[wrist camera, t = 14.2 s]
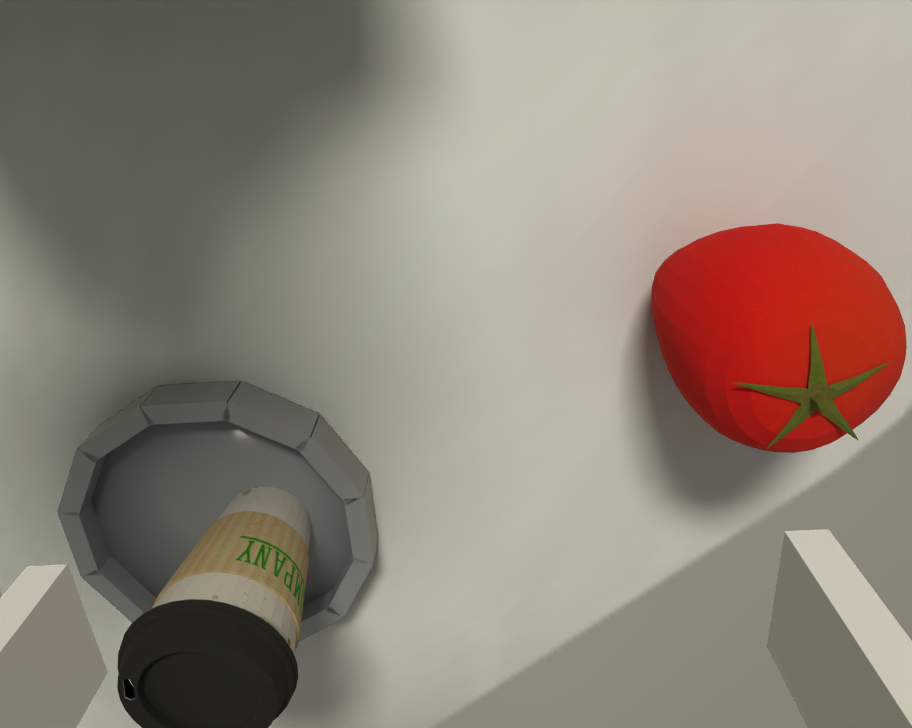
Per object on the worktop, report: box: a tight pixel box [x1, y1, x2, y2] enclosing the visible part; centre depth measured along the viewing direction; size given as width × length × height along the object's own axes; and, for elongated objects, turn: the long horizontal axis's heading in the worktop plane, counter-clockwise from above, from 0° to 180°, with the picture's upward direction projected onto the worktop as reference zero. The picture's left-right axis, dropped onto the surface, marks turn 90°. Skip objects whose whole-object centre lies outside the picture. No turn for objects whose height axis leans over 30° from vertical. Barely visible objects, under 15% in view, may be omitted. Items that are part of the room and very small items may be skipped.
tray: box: [58, 381, 378, 642], centre depth 51 cm, size 21×21×3 cm
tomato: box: [651, 223, 907, 453], centre depth 38 cm, size 13×11×14 cm
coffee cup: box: [118, 486, 311, 728], centre depth 44 cm, size 10×10×15 cm
